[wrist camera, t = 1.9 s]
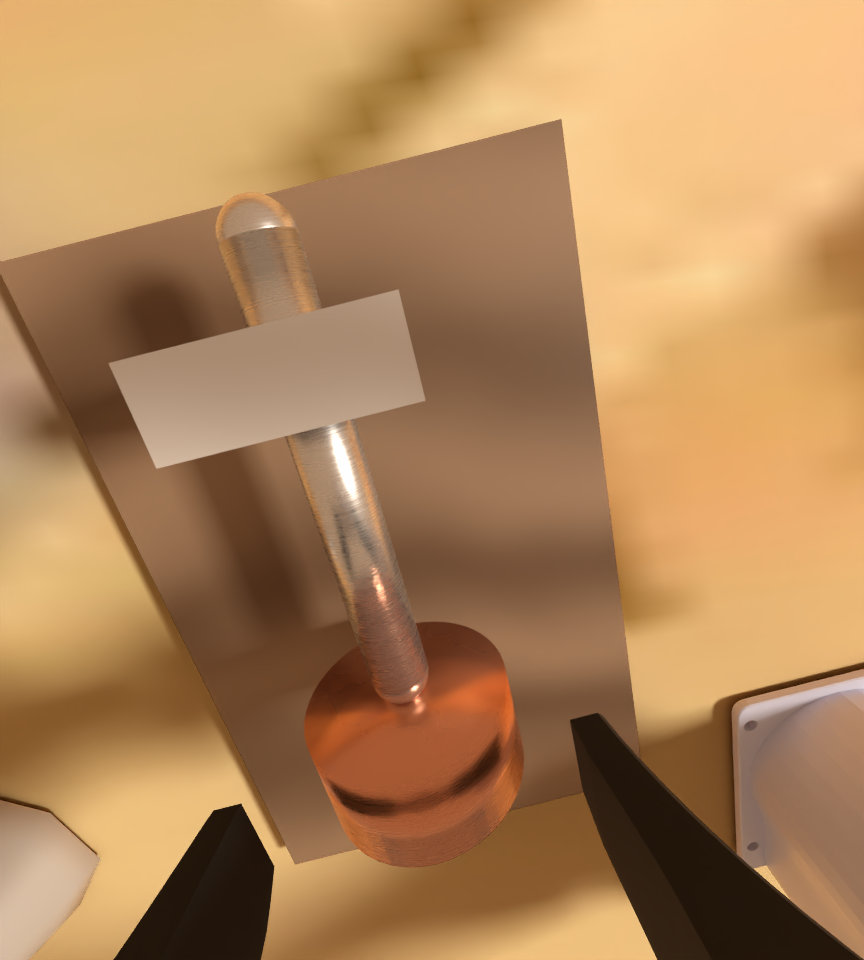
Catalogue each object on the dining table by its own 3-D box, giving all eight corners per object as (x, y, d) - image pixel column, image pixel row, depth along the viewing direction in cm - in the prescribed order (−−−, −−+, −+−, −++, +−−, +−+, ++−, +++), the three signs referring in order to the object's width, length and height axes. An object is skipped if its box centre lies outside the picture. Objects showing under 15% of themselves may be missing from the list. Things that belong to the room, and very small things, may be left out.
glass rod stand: (500, 669, 14) (551, 834, 10) (344, 708, 14) (320, 893, 10) (389, 198, 10) (384, 84, 5) (170, 254, 10) (-23, 188, 6)
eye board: (632, 759, 19) (754, 979, 12) (299, 842, 19) (250, 1104, 12) (550, 132, 12) (731, -98, 5) (20, 267, 12) (-414, 195, 5)
